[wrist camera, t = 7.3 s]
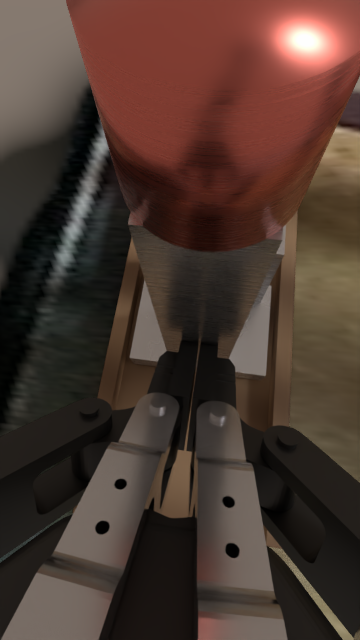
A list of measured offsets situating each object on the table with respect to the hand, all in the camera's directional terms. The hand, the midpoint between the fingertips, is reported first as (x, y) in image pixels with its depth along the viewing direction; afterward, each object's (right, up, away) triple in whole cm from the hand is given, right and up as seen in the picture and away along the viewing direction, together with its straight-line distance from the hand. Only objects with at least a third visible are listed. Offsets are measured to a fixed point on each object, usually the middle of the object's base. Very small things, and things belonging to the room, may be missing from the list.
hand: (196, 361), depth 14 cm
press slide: (+1, +2, +6) cm, 6 cm away
